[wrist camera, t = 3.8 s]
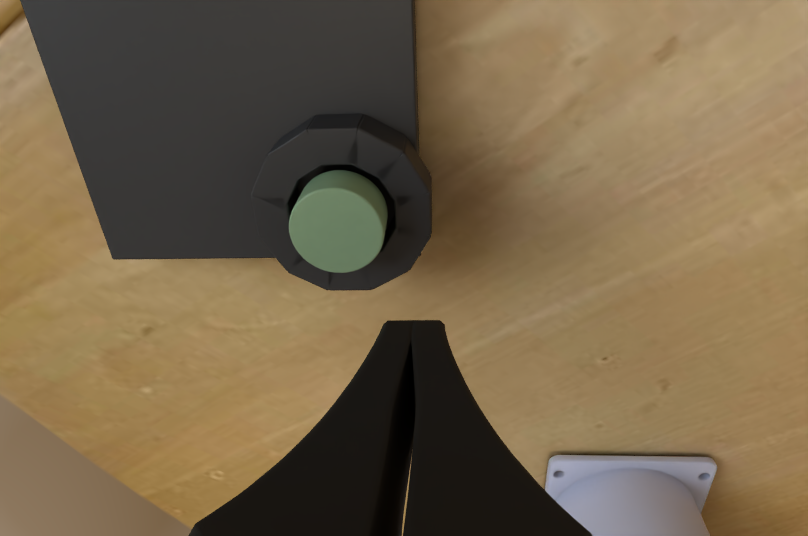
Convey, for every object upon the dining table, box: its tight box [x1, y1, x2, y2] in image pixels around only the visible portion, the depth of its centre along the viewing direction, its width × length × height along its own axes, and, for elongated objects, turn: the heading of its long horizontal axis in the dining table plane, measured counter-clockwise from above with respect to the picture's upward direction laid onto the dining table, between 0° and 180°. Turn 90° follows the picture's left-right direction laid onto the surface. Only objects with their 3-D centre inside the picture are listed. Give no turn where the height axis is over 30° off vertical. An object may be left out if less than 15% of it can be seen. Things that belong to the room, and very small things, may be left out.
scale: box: [20, 0, 432, 290], centre depth 18 cm, size 14×12×3 cm
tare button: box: [289, 170, 388, 273], centre depth 18 cm, size 3×3×2 cm
